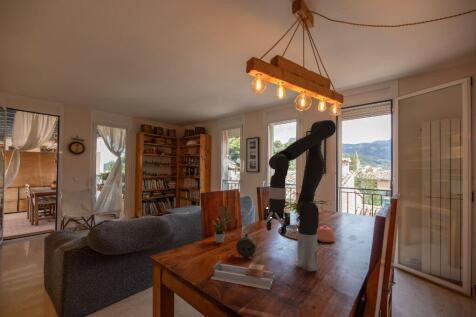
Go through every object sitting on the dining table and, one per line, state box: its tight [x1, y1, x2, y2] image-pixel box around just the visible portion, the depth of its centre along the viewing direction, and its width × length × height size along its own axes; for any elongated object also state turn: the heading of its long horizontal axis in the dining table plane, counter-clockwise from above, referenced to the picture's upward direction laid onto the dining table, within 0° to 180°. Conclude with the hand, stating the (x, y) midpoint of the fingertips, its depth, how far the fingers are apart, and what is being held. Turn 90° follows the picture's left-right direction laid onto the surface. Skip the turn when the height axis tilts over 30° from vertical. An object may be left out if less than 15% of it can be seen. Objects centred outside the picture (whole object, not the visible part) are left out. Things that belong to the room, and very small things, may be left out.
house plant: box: [211, 217, 232, 242], centre depth 146 cm, size 14×14×16 cm
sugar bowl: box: [317, 224, 336, 243], centre depth 151 cm, size 12×14×10 cm
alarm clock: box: [235, 228, 258, 259], centre depth 120 cm, size 11×5×16 cm, turn 74°
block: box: [247, 262, 265, 278], centre depth 95 cm, size 6×5×5 cm
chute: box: [210, 259, 275, 290], centre depth 97 cm, size 26×12×5 cm, turn 71°
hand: (275, 232), depth 102 cm, fingers open, 8 cm apart
